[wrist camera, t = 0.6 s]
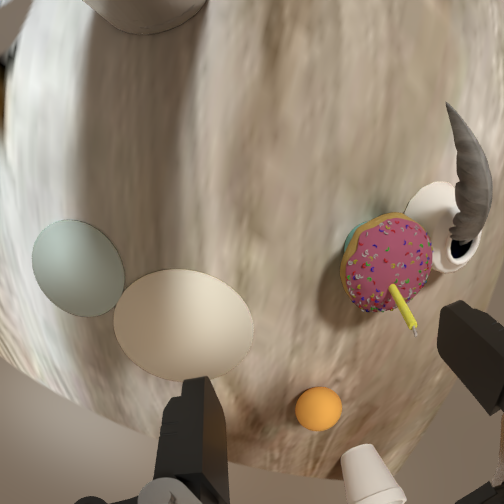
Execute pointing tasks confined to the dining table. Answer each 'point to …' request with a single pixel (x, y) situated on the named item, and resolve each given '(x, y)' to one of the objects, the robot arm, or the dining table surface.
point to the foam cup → (369, 478)
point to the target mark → (183, 325)
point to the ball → (318, 408)
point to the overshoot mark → (78, 268)
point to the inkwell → (456, 203)
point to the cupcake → (386, 264)
